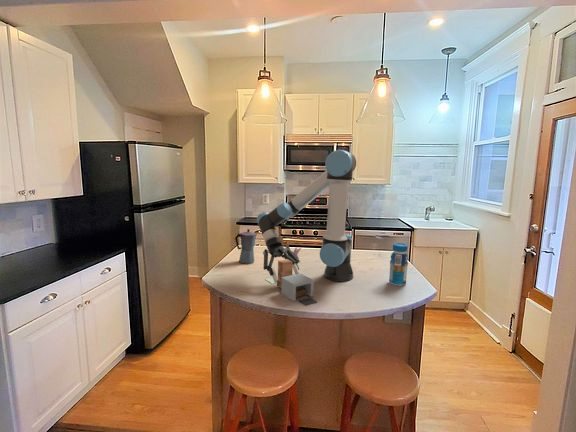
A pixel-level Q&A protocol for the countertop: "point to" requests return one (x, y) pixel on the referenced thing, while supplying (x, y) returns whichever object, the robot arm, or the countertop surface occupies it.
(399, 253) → the beverage bottle
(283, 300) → the countertop surface
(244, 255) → the moka pot
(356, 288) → the countertop surface
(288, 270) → the wooden pillar on base
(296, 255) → the lily
